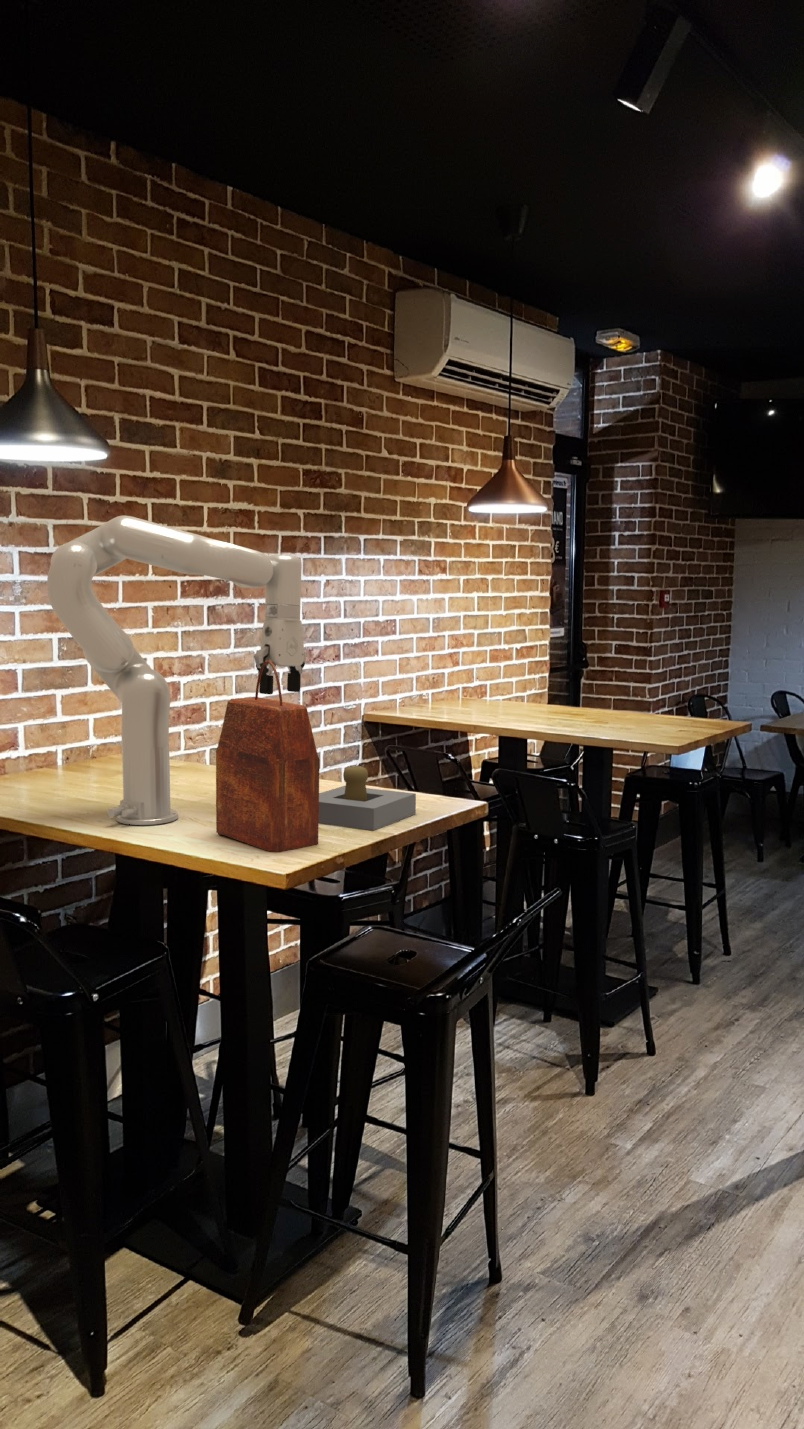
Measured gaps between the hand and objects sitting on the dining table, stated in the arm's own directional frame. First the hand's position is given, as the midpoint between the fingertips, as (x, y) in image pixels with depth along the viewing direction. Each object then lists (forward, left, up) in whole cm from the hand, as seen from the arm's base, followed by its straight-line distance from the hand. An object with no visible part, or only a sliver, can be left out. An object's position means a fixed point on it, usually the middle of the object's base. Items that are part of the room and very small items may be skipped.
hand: (280, 692), depth 228 cm
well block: (+2, -19, -26) cm, 32 cm away
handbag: (-24, -14, -26) cm, 38 cm away
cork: (+1, -18, -26) cm, 32 cm away
